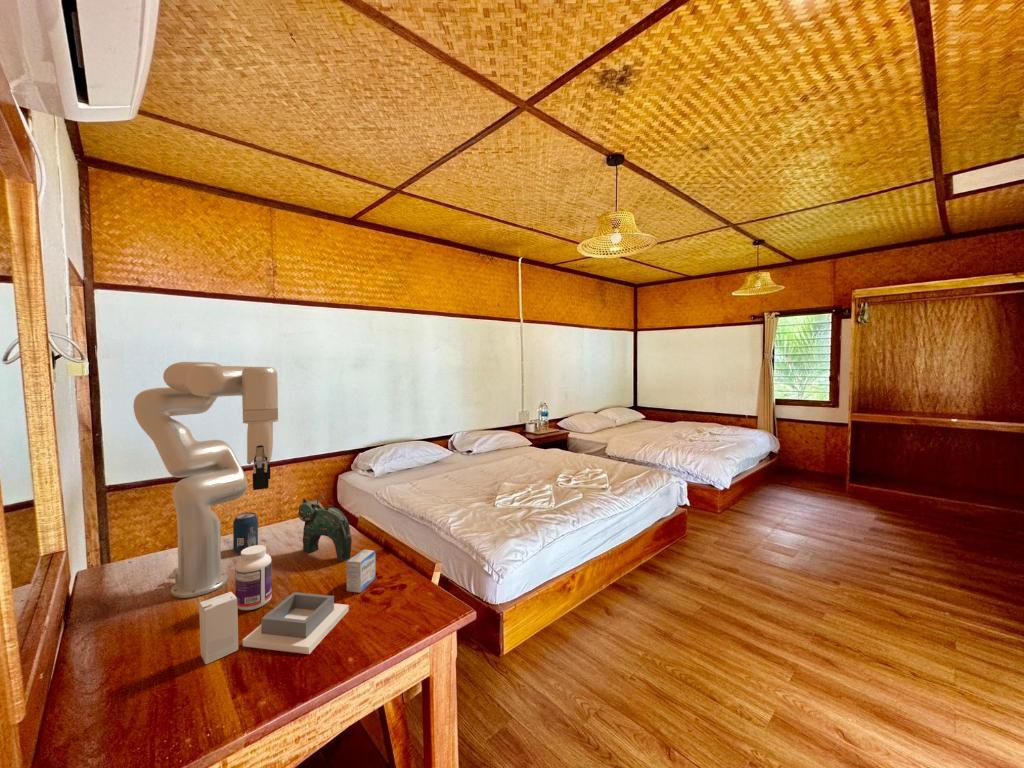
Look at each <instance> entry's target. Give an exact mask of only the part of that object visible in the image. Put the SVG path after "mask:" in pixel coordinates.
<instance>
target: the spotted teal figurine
mask: <svg viewBox="0 0 1024 768" xmlns="http://www.w3.org/2000/svg"><path fill="white" fill-rule="evenodd" d="M319 497H321V498H322V499H323V500H326V498H325V496H324V495H323V494H318V495H317V497H316V498H317V499H316V500H315V499H314V500H310V501H309V500H307V499H305V498H303V499H302V504H300V506H299V507H298V518H299V519H300V520H301V521H302V522H304V526H303V533H302V534H303V535H302V552H303V553H304V554H305V553H306V554H312V553H315V552H317V551H318V550H319V546H320V545H319V542H320V541H319V540H320V539H321V537H322V536H324V537H327V538H330V540H331V541H332V542H333V545H334V549H335V553H336V558H337V561H339V562H347V561H348V560H350V559H351V554H352V553H351V551H352V542H353V539H352V533H351V527H350V523H349V521H348V519H347V517H346V516H345V514H344V513H343V512H342V511H341V510H340V509H339V508H336V507H333V506H329V507H323V505H322V504H321V502H320V501H319Z"/></svg>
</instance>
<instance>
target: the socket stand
mask: <svg viewBox="0 0 1024 768" xmlns="http://www.w3.org/2000/svg"><path fill="white" fill-rule="evenodd" d="M349 610H350V605H349V604H345V603H344V604H342V603H335V596H334V595H327V594H319V593H318V594H316V593H305V592H296V591H294V592H292V593H291V594H290V595H288V596H287V597H286V598H285V599H284V600H282V601H281V602H279V604H278V605H276V606H275V607H274V608H272V609H271V610H270V611H268V612H267V613H266V614H264V616H262V617H261V619H260V620H261V622H260V625H258V626H257V627H256V628H255V629H254V630H252V631H251V632H250V633H249V634H248V635H246V636H245V637H243V638H242V647H245V648H254V649H255V648H256V649H263V650H272V651H280V652H286V653H287V652H288V653H297V654H306V655H310V654H311V653H312V652H313V651H314V650H315V648H316V647H317V646H318V645H319V644H320V643H321V642H322V641H323V640H324V638H325V637H326V636H327V635H328V634H329V633H330V632H331V631H332V630H333V629H334V628H335V627H336V625H337V624H338V623H339V622H340V621H341V620H342V619H343V618H344V617H345V616H346V614H347V613H348V612H349Z"/></svg>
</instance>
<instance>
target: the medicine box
mask: <svg viewBox="0 0 1024 768" xmlns="http://www.w3.org/2000/svg"><path fill="white" fill-rule="evenodd" d="M375 579H376V551H375V550H371V549H362V550H360V551H359V552H358V553H356V554H355V555H353V556H352V557H350V558H349V559H347V560H346V591H347V592H351V593H352V592H353V593H360V594H361V593H362V592H363V591H364V590H365V589H366V588H367V587H369V585H370V584H371V583H373V581H374V580H375Z"/></svg>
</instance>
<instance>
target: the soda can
mask: <svg viewBox="0 0 1024 768" xmlns="http://www.w3.org/2000/svg"><path fill="white" fill-rule="evenodd" d="M232 525H233V526H232V528H233V529H232V530H233V531H232V532H233V533H232V541H233V542H232V543H233V545H232V547H233V548H232V549H233V551H234V553H235V554H236V555H241V551H242V550H243V549H245V548H247V547H251V546H255V545H259V519H258V516H257V514H256V512H244V513H240V514H239V513H238V514H237V515H236V516H235V518H234V520H233V522H232Z"/></svg>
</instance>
